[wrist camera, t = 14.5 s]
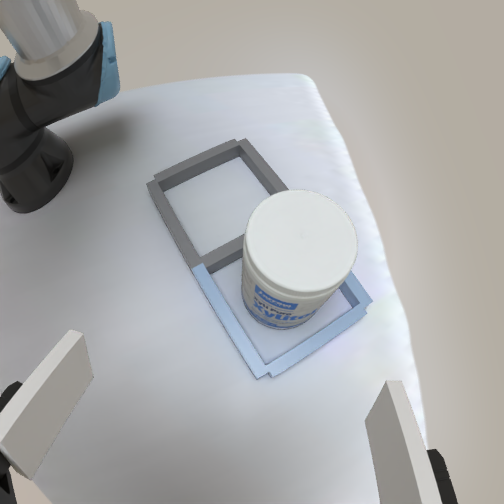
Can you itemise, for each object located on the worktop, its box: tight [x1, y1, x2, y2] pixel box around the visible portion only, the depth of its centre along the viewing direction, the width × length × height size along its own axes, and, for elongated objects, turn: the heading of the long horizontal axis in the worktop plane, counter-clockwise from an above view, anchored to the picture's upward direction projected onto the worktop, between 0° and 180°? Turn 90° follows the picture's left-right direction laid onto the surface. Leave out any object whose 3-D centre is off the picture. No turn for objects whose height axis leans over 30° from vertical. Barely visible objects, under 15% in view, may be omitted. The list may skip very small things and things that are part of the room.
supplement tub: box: [242, 190, 358, 329], centre depth 32 cm, size 10×10×15 cm
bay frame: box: [146, 138, 373, 379], centre depth 40 cm, size 30×16×2 cm, turn 31°
